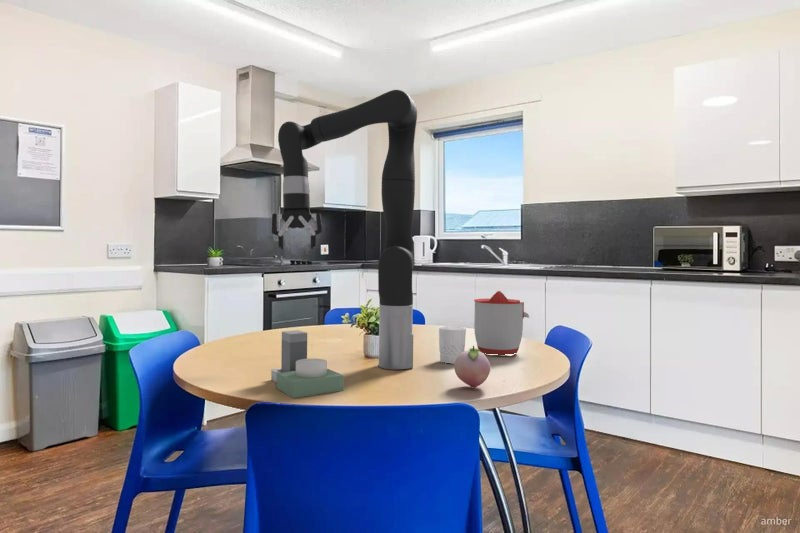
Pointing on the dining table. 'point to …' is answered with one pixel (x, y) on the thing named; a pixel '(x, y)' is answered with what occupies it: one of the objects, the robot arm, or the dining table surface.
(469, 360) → the decorative fruit
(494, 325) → the citrus juicer
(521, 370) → the dining table surface
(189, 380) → the dining table surface
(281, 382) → the shallow green tray
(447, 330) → the white cup
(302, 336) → the tall grey square pillar
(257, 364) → the dining table surface
